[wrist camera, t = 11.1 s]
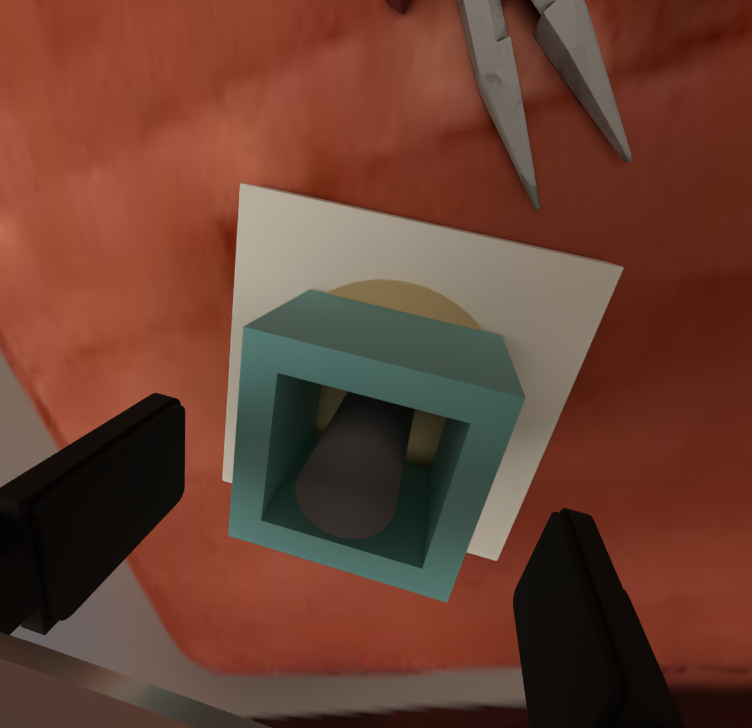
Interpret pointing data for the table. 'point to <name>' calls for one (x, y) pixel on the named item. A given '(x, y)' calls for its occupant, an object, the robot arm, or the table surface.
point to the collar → (384, 382)
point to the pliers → (564, 50)
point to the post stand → (424, 298)
